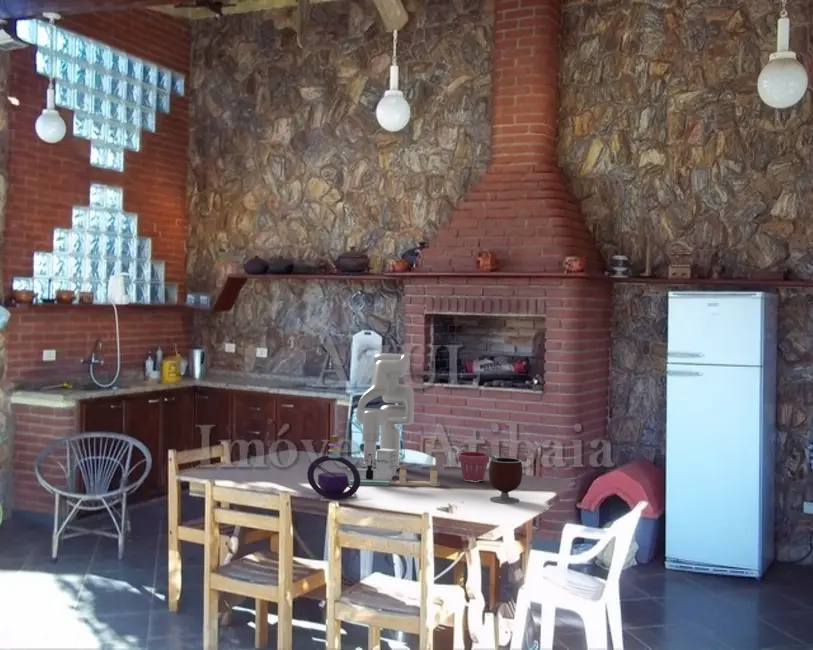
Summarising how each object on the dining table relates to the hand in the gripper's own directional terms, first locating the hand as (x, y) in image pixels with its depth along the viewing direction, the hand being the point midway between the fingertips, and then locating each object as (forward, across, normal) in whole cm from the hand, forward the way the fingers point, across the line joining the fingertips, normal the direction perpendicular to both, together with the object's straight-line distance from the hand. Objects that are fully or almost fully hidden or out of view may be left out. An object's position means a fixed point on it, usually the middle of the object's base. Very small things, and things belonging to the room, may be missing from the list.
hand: (369, 477), depth 397 cm
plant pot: (+3, -13, +48) cm, 50 cm away
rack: (+2, 0, +22) cm, 22 cm away
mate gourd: (+3, +31, +57) cm, 65 cm away
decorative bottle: (+3, +29, -14) cm, 32 cm away
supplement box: (+3, -20, +7) cm, 22 cm away
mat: (+2, 0, 0) cm, 2 cm away
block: (0, 0, 0) cm, 0 cm away
